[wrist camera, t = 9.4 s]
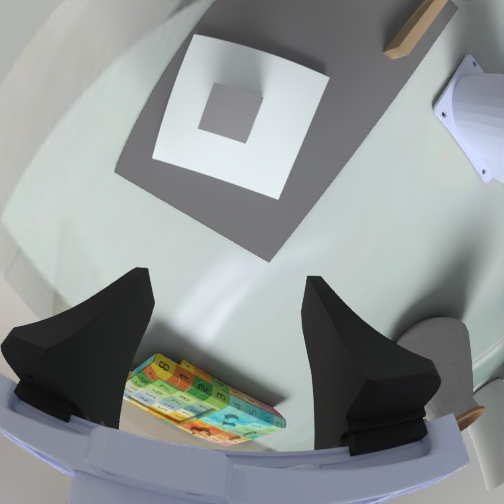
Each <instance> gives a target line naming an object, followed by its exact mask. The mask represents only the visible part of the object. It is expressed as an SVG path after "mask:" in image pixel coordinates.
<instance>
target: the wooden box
mask: <svg viewBox="0 0 504 504" xmlns="http://www.w3.org/2000/svg"><path fill="white" fill-rule="evenodd" d="M447 1H448V0H424V1H423V2H422V4H421V5H420V6H419V7H418V9H417V10H416V11H415V12H414V14H413V15H412V16H411V17H410V19H409V20H408V21H407V22H406V24H405V25H404V26H403V28H402V29H401V30H400V31H399V33H398V34H397V35H396V37H395V38H394V39H393V40H392V42H391V43H390V44H389V46H388V47H387V48H386V49H385V51H384V52H383V53H384V54H385V55H386V56H387V57H388V58H389V59H390V60H393V59H396V58H400V57H403V56H407V55H409V53H410V52H411V50H412V49H413V48H414V46H415V45H416V44H417V42H418V41H419V40H420V38H421V37H422V35H423V34H424V33H425V31H426V30H427V29H428V27H429V26H430V24H431V23H432V22H433V20H434V19H435V18H436V16H437V15H438V13H439V12H440V11H441V9H442V8H443V7H444V5H445V4H446V2H447Z"/></svg>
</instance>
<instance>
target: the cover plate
mask: <svg viewBox="0 0 504 504" xmlns="http://www.w3.org/2000/svg"><path fill="white" fill-rule="evenodd" d="M328 80H329V77H327V76H325V75H323V74H321V73H318V72H316V71H314V70H311V69H309V68H307V67H304V66H302V65H299V64H297V63H294V62H292V61H289V60H286V59H284V58H281V57H278V56H275V55H272V54H269V53H266V52H263V51H260V50H257V49H253V48H250V47H247V46H243V45H240V44H236V43H232V42H228V41H224V40H220V39H215V38H211V37H206V36H201V35H196V34H194V36H193V38H192V40H191V43H190V45H189V47H188V50H187V52H186V55H185V57H184V60H183V62H182V65H181V68H180V70H179V73H178V76H177V78H176V81H175V84H174V87H173V90H172V92H171V95H170V98H169V101H168V104H167V108H166V111H165V114H164V117H163V120H162V124H161V127H160V131H159V134H158V138H157V141H156V145H155V149H154V153H153V157H152V158H153V159H156V160H160V161H163V162H166V163H170V164H173V165H176V166H180V167H183V168H186V169H189V170H193V171H196V172H199V173H202V174H205V175H208V176H211V177H214V178H217V179H220V180H223V181H226V182H229V183H232V184H235V185H238V186H241V187H244V188H247V189H250V190H252V191H255V192H258V193H261V194H264V195H266V196H269V197H272V198H275V199H277V200H278V199H279V197H280V194H281V192H282V190H283V187H284V185H285V183H286V180H287V178H288V175H289V173H290V171H291V168H292V166H293V164H294V161H295V159H296V157H297V154H298V152H299V149H300V147H301V145H302V142H303V140H304V138H305V135H306V133H307V130H308V128H309V126H310V123H311V121H312V118H313V116H314V114H315V111H316V109H317V107H318V104H319V102H320V99H321V97H322V95H323V92H324V90H325V87H326V85H327V83H328Z"/></svg>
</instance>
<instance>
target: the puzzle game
mask: <svg viewBox="0 0 504 504" xmlns="http://www.w3.org/2000/svg"><path fill="white" fill-rule="evenodd" d="M123 398H124V399H126V400H127V401H129V402H131V403H132V404H134V405H136V406H138V407H139V408H141V409H143V410H145V411H147V412H149V413H151V414H152V415H154V416H156V417H158V418H160V419H162V420H164V421H166V422H168V423H170V424H172V425H175V426H177V427H179V428H181V429H183V430H185V431H188V432H190V433H192V435H195V436H199V437H202V438H204V439H207V440H209V441H212V442H214V443H217V444H220V445H222V446H229V445H233V444H237V443H240V442H244V441H247V440H251V439H254V438H257V437H260V436H263V435H266V434H269V433H272V432H275V431H278V430H281V429H284V428H286V420H285V419H284V418H283V417H282V415H281V414H280V413H279V412H277V411H276V410H275V409H274V408H273V407H271V406H269V405H267V404H265V403H262V402H260V401H258V400H256V399H254V398H252V397H250V396H248V395H246V394H244V393H242V392H240V391H238V390H237V389H235V388H233V387H231V386H229V385H227V384H225V383H224V382H222V381H220V380H218V379H216V378H215V377H213V376H211V375H209V374H208V373H206V372H204V371H202V370H201V369H199V368H197V367H196V366H194V365H192V364H191V363H189V362H187V361H186V360H183V361H181V362H179V363H178V364H176V363H175V362H173V361H172V360H170V359H169V358H167V357H165V356H164V355H162V354H157V353H156V354H154V355H153V356H152V357H150V358H149V359H148V360H147V361H145V362H144V363H143V364H141V365H140V366H139V367H137V368H136V369H135V370H134V371H132V372H131V373H130V374H128V378H127V382H126V386H125V391H124V395H123Z"/></svg>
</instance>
